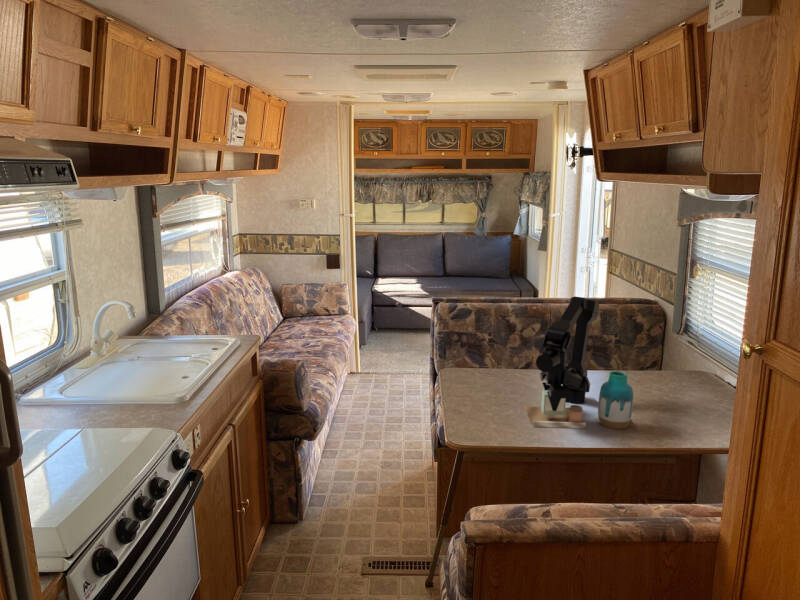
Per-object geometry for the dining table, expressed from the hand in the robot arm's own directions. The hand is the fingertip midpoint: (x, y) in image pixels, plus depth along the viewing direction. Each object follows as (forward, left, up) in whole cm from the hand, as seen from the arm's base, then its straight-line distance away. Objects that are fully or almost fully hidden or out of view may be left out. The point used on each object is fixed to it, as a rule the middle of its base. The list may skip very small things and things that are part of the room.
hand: (552, 408), depth 194 cm
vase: (-20, +2, -6) cm, 21 cm away
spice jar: (-7, +3, -4) cm, 9 cm away
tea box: (0, 0, -2) cm, 2 cm away
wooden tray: (-1, -2, -6) cm, 6 cm away
